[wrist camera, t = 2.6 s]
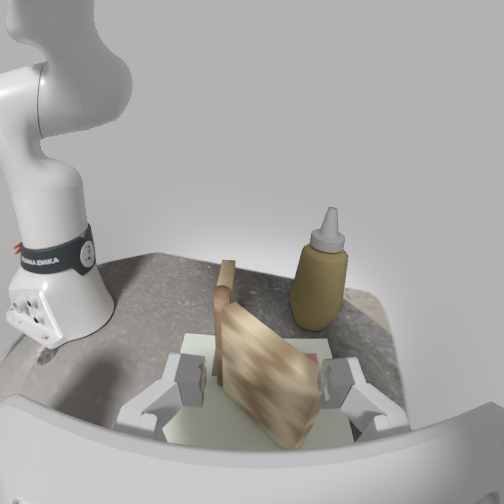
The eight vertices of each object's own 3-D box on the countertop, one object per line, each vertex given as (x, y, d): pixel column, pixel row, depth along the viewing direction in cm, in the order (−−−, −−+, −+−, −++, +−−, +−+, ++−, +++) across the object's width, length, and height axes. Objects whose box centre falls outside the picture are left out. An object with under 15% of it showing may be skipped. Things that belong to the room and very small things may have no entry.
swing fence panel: (214, 381, 30) (210, 288, 24) (225, 375, 31) (224, 283, 25) (290, 455, 21) (324, 379, 15) (301, 447, 22) (338, 367, 16)
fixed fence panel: (217, 375, 31) (214, 294, 25) (222, 337, 37) (222, 259, 32) (230, 376, 31) (230, 295, 25) (233, 337, 37) (235, 260, 32)
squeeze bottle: (325, 344, 37) (354, 224, 29) (276, 323, 41) (291, 207, 33) (342, 315, 43) (368, 210, 35) (299, 299, 47) (315, 196, 39)
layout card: (153, 468, 19) (145, 458, 18) (185, 336, 37) (184, 320, 36) (357, 470, 19) (369, 460, 18) (326, 341, 38) (330, 326, 36)
